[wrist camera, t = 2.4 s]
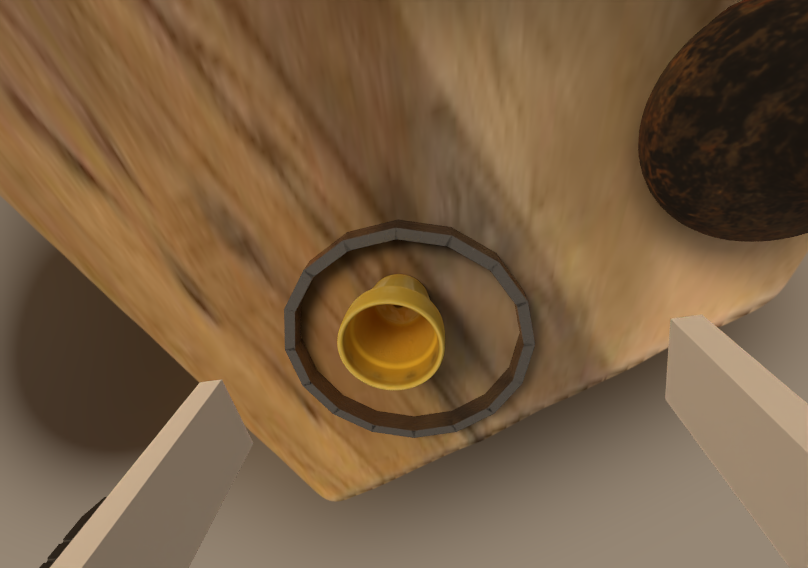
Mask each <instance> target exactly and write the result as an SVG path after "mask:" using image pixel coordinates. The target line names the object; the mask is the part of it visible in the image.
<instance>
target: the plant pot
mask: <svg viewBox="0 0 808 568" xmlns="http://www.w3.org/2000/svg"><path fill="white" fill-rule="evenodd" d="M337 346H338V352H339V355H340V358H341V360H342V362H343V364H344V365H345V367H346V368H347V369H348V370H349V371H350V372H351V374H353V375H354V376H355V377H356V378H357V379H359V380H360V381H362V382H364V383H366V384H368V385H370V386H373V387H376V388H379V389H384V390H404V389H409V388H413V387H416V386H418V385H420V384H422V383H424V382H426V381H427V380H428V379H430V378H431V377H432V376H433V375H434V374H435V373H436V371H437V370H438V368H439V367H440V365H441V363H442V360H443V357H444V352H445V330H444V324H443V320H442V317H441V315H440V313H439V311H438V309H437V308H436V306H435V305H434V304H433V303H432V302H431V301H430V299H429V296H428V293H427V291H426V289H425V287H424V286H423V285H422V284H421V283H420V282H419V281H418V280H417V279H415V278H413V277H411V276H408V275H403V274H394V275H390V276H387V277H385V278H383V279H381V280H380V281H379V282H378V283H377V284H376V285H375V286H374V287H373V289H371V290H369V291H367V292H365V293H364V294H362V295H360V296H359V297H358V298H357V299H356V300H355V301H354V302H353V303H352V304H351V306H350V307H349V309H348V311H347V313H346V315H345V317H344V319H343V321H342V324H341V326H340V329H339V332H338V338H337Z"/></svg>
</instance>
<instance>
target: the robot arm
mask: <svg viewBox="0 0 808 568" xmlns="http://www.w3.org/2000/svg"><path fill="white" fill-rule="evenodd" d="M665 400H666V401H667V402H668V404H669V405H670V407H671V408H672V409H673V410H674V412H675V413H676V415H677V416H678V417H679V419H680V420H681V421H682V423H683V424H684V426H685V427H686V428H687V430H688V431H689V432H690V434H691V435H692V436H693V438H694V439H695V440H696V442H697V443H698V444H699V446H700V447H701V449H702V450H703V451H704V453H705V454H706V455H707V457H708V458H709V459H710V461H711V462H712V463H713V465H714V466H715V468H716V469H717V470H718V472H719V473H720V474H721V476H722V477H723V478H724V480H725V481H726V482H727V484H728V485H729V486H730V488H731V489H732V490H733V492H734V493H735V495H736V496H737V497H738V499H739V500H740V501H741V503H742V504H743V505H744V507H745V508H746V509H747V511H748V512H749V514H750V515H751V516H752V517H753V519H754V520H755V522H756V523H757V524H758V526H759V527H760V528H761V529H762V531H763V532H764V534H765V535H766V537H767V538H768V539H769V541H770V542H771V543H772V545H773V546H774V547H775V549H776V550H777V551H778V553H779V554H780V556H781V557H782V558H783V560H784V561H785V562H786V564H787V565H788V566H789V568H808V404H807V403H806V402H805V401H803V400H802V399H801V398H800V397H799V396H798V395H797V394H795V393H794V392H793V391H792V390H791V389H789V388H788V387H787V386H786V385H785V384H783V383H782V382H781V381H780V380H779V379H778V378H776V377H775V376H774V375H773V374H772V373H771V372H769V371H768V370H767V369H766V368H764V367H763V366H762V365H761V364H760V363H759V362H758V361H756V360H755V359H754V358H753V357H752V356H750V355H749V354H748V353H747V352H746V351H745V350H743V349H742V348H741V347H740V346H739V345H737V344H736V343H735V342H734V341H733V340H731V339H730V338H729V337H728V336H727V335H726V334H724V333H723V332H722V331H721V330H720V329H719V328H717V327H716V326H715V325H714V324H713V323H711V322H710V321H709V320H708V319H707V318H706V317H704V316H703V315H695V316H687V317H680V318H673V319H670V334H669V349H668V364H667V380H666V394H665ZM252 445H253V442H252V440H251V438H250V436H249V434H248V432H247V430H246V427H245V425H244V423H243V421H242V419H241V417H240V415H239V413H238V411H237V409H236V407H235V405H234V403H233V401H232V399H231V397H230V395H229V393H228V391H227V389H226V387H225V385H224V383H223V381H222V380H215V381H207V382H200V383H199V384H198V386H197V387H196V388H195V389H194V390H193V392H192V393H191V394H190V395H189V397H188V398H187V399H186V401H185V402H184V403H183V404H182V405H181V406H180V408H179V409H178V410H177V411H176V413H175V414H174V415H173V416H172V418H171V419H170V420H169V421H168V423H167V424H166V425H165V426H164V427H163V429H162V430H161V431H160V432H159V434H158V435H157V436H156V437H155V439H154V440H153V441H152V442H151V444H150V445H149V446H148V447H147V449H146V450H145V451H144V452H143V453H142V455H141V456H140V457H139V458H138V460H137V461H136V462H135V463H134V464H133V466H132V467H131V468H130V469H129V471H128V472H127V473H126V475H125V476H124V477H123V478H122V479H121V481H120V482H119V483H118V484H117V485H116V487H115V488H114V489H113V490H112V492H111V493H110V494H109V495H108V497H104V498H103V499H102V500H101V501H100V502H99V503H97V504H96V505H95V506H94V507H93V508H92V509H90V510H89V511H88V512H87V513H86V514H85V515H84V516H82V517H81V519H80V520H79V521H78V522H77V523H76V524H75V526H74V527H73V528H72V529H71V530H70V532H69V533H68V534H67V535H66V536H65V538H64V539H63V540H64V541H63V543H62V544H59V545H58V546H57V548H56V549H55V550H54V551H53V552H52V553H51V555H50V556H49V557H48V561H47V562H46V563H43V564H42V565H41V567H40V568H189V566H190V564H191V562H192V560H193V559H194V557H195V555H196V553H197V551H198V549H199V547H200V545H201V543H202V541H203V539H204V537H205V535H206V534H207V532H208V530H209V528H210V526H211V524H212V522H213V520H214V518H215V516H216V514H217V512H218V510H219V509H220V507H221V505H222V503H223V501H224V499H225V497H226V495H227V493H228V491H229V489H230V487H231V485H232V483H233V482H234V480H235V478H236V476H237V474H238V472H239V470H240V468H241V466H242V464H243V462H244V460H245V458H246V457H247V455H248V453H249V451H250V449H251V447H252Z"/></svg>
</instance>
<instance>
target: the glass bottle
mask: <svg viewBox="0 0 808 568" xmlns="http://www.w3.org/2000/svg"><path fill="white" fill-rule="evenodd" d="M638 151H639V159H640V166H641V169H642V173H643V176H644V179H645V181H646V184H647V185H648V188H649V190H650V192H651V193H652V195H653V197H654V198H655V199H656V201H657V202H658V203H659V204H660V206H661V207H662V208H663V209H665V210H666V211H667V213H669V214H670V215H671V216H672V217H673V218H675V219H676V220H678V221H679V222H680V223H682V224H684V225H686V226H687V227H689V228H691V229H694V230H696V231H698V232H700V233H703V234H706V235H709V236H712V237H716V238H720V239H726V240H734V241H750V242H753V241H771V240H779V239H784V238H790V237H794V236H798V235H802V234H805V233H808V0H743V1H741V2H739V3H737V4H734V5H732V6H730V7H729V8H727V9H726V10H725V11H723V12H722V13H721V14H719V15H718V16H717V17H716V18H715V19H714V20H713V21H712V22H710V23H709V24H708V25H707V26H705V27H704V28H703V29H702V30H700V31H699V32H698V33H697V34H696V35H695V36H694V37H693V38H692V39H691V40H689V41H688V42H687V43H686V44H685V45H684V47H683V48H682V49H681V50H680V51H679V52H678V53H677V54H676V56H675V57H674V58H673V59H672V61H671V62H670V63H669V64H668V66H667V67H666V69H665V70H664V71H663V73H662V74H661V76H660V78H659V80H658V81H657V83H656V85H655V87H654V88H653V90H652V92H651V94H650V97H649V99H648V102H647V104H646V107H645V110H644V113H643V116H642V120H641V125H640V130H639V144H638Z"/></svg>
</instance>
